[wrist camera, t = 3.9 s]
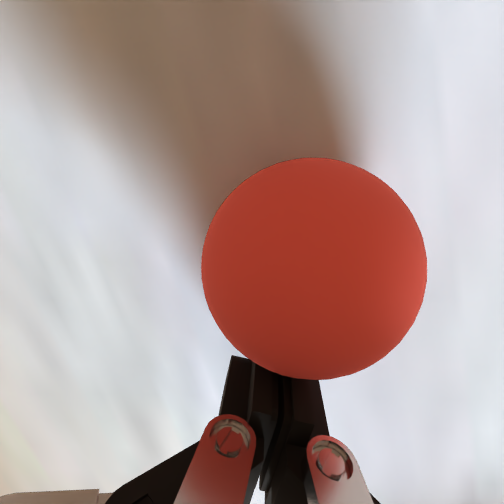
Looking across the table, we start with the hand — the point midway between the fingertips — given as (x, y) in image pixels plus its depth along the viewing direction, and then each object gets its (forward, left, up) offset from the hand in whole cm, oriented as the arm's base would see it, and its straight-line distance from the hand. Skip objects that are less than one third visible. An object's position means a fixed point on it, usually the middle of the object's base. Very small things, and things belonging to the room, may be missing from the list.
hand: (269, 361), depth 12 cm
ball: (0, +5, +1) cm, 5 cm away
